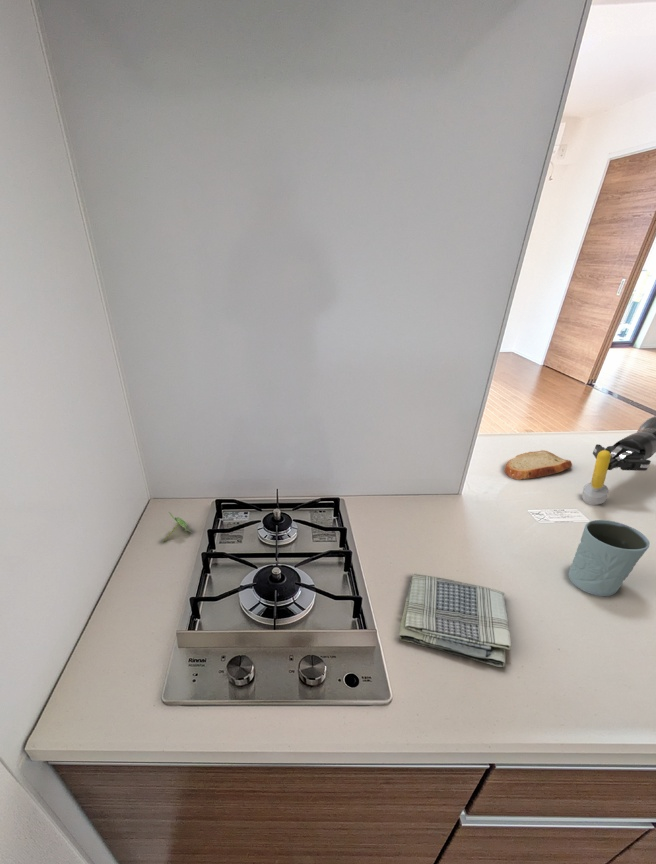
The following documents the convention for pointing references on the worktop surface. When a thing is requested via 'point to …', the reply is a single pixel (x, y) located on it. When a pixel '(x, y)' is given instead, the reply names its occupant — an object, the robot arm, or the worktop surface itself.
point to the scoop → (598, 481)
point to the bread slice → (535, 465)
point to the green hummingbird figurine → (179, 521)
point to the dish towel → (456, 619)
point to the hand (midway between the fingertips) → (604, 466)
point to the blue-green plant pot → (606, 556)
